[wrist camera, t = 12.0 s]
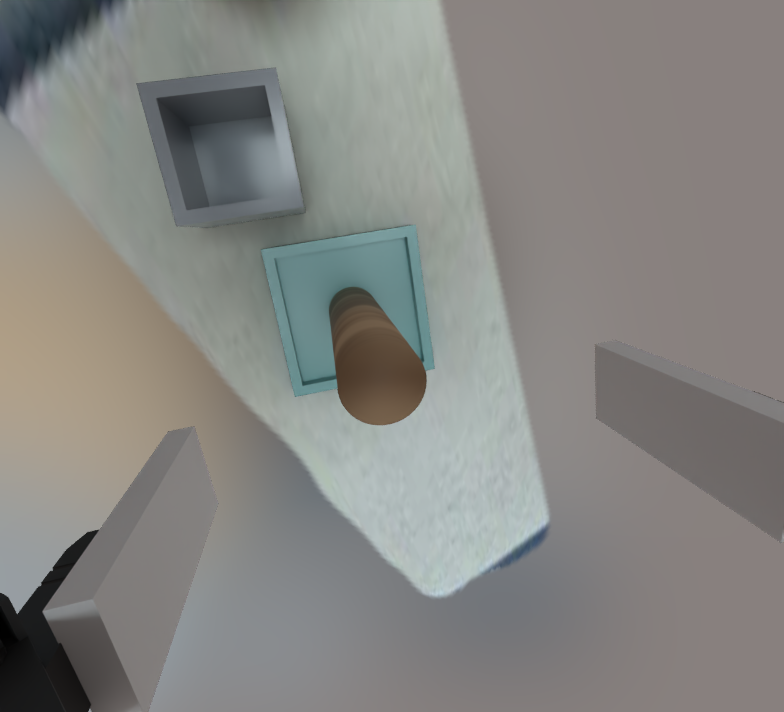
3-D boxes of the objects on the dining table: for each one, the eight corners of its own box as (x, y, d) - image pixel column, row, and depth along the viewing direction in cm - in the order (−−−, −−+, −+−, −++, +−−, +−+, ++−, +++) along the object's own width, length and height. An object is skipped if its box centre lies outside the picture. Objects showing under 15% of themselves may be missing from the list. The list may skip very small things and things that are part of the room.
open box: (178, 118, 32) (136, 83, 25) (284, 105, 33) (275, 67, 26) (206, 227, 34) (176, 226, 27) (305, 212, 35) (303, 206, 28)
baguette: (324, 291, 36) (329, 349, 19) (373, 282, 37) (420, 332, 20) (333, 338, 37) (346, 432, 20) (380, 330, 38) (431, 415, 21)
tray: (263, 248, 35) (260, 249, 34) (410, 225, 37) (415, 224, 35) (295, 389, 39) (294, 396, 37) (429, 362, 40) (434, 368, 39)
